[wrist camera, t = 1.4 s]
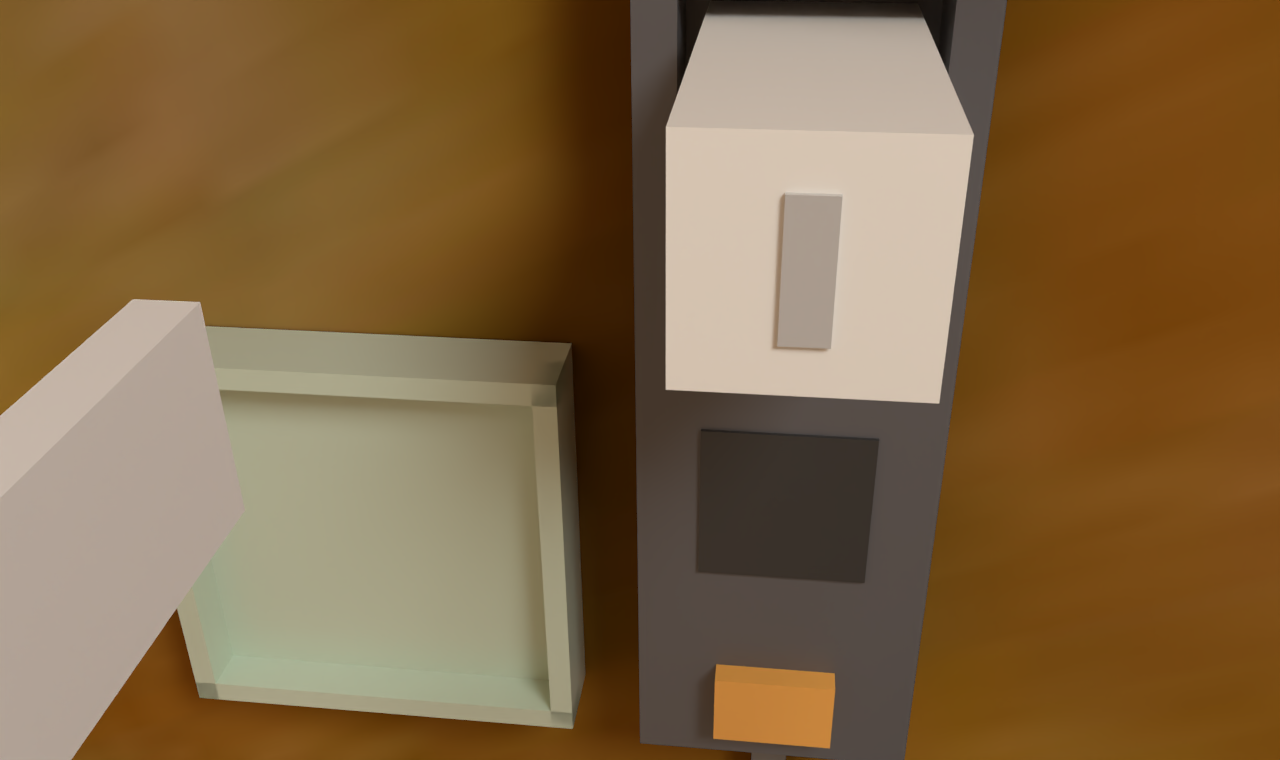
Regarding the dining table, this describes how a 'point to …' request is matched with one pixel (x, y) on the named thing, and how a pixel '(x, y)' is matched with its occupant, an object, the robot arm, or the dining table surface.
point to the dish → (396, 528)
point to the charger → (813, 203)
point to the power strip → (783, 482)
